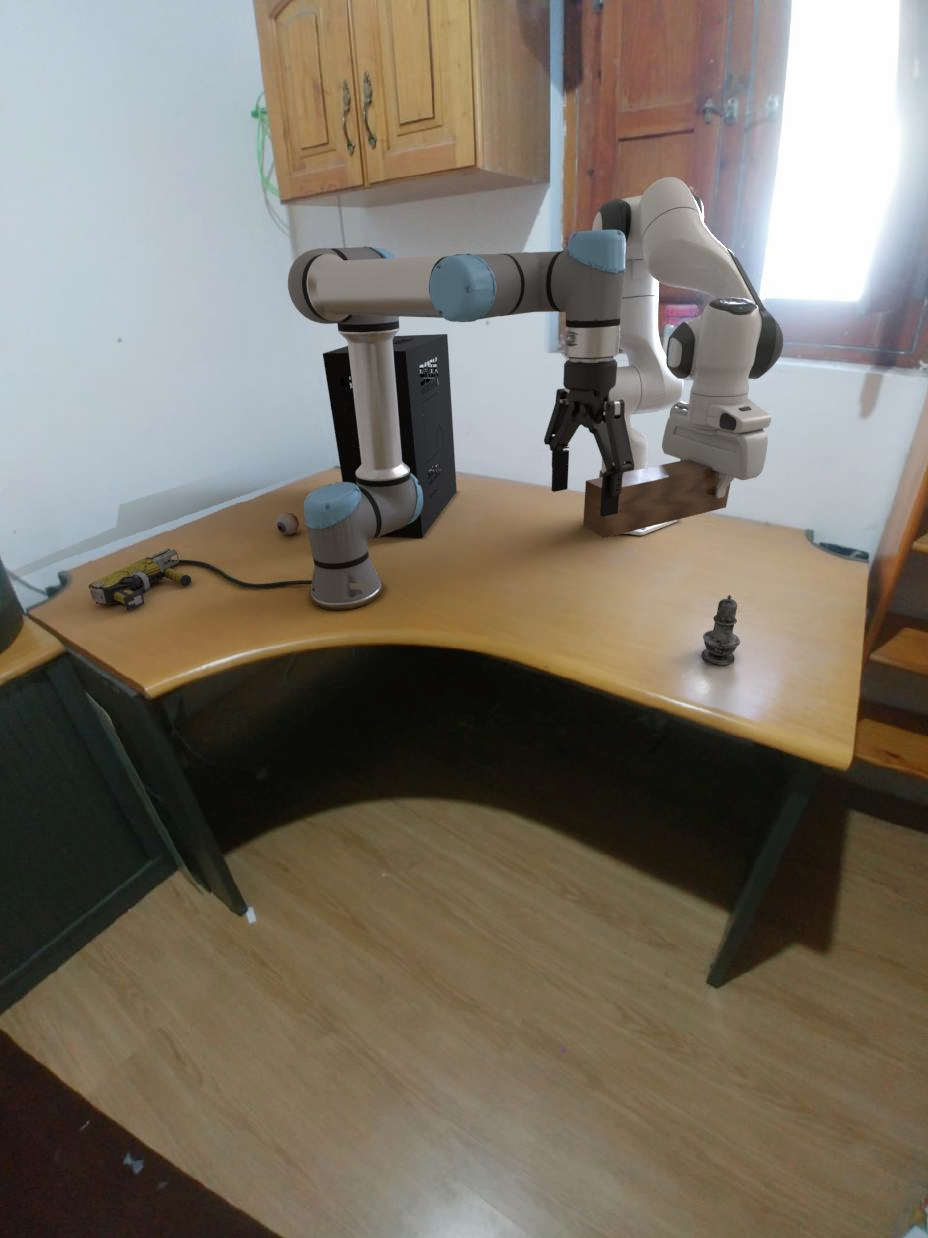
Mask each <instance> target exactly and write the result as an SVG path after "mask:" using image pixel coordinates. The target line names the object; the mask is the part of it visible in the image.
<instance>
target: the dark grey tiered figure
mask: <svg viewBox="0 0 928 1238" xmlns="http://www.w3.org/2000/svg"><path fill="white" fill-rule="evenodd" d="M737 610H738V603H737V602H736V600H735V599H732V595H731V594H729V595H728V596H727V598H723V599H720V601H719V602H718V605H717V610H716V615H714V616H713V622H714V624H713V628H712V629H711V630H707V631H705V633H703V635H702V639H703V642H704V646H705V649H703V650H702V652H701V656H702V658H703V659H704V660H705V661H706V662H708V663H710V664H714V665H718V666H727V665H731V664H732V663H734V661H735V659H736V657H735V654H733V653H734V652H735V651H736V650H737V648H738V647H739V646H740V644H741V639H740V638H739V636H737V635H736V634H734V628H735V625H736V624H737V623H738V620H737V618H736V615H737Z"/></svg>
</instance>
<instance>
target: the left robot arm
mask: <svg viewBox="0 0 928 1238" xmlns="http://www.w3.org/2000/svg"><path fill="white" fill-rule="evenodd" d="M625 251H626V238H625V235H624V233H623V232H621V231H620V230H593V231H592V230H581V231H575V232H573V233H571V234H570V236H569V237H568V243H567V247H566V249H565V250H560V251H533V252H532V251H531V252H529V251H523V252H510V253H509V252H507V253H478V254H475V253H474V254H473V253H457V254H453V255H435V256H413V257H397V256H396V255H395V254H394V253H393V252H391V250H388V249H386V248H382V247H373V246H367V245H365V246H359V247H357V246H356V247H355V246H354V247H331V248H330V247H329V248H328V247H320V248H318V247H317V248H313V249H310V250H307V251H305V252H302V253H301V254H300V255H299V256H298V257H296V259H295V260H294V261H293V263H292V264H291V265H290V269H289V272H288V277H287V290H288V294H289V297H290V300H291V302H292V303H293V306H294V307H295V309H296V310H297V311H298V312H299V313H300V314H301V315H302V316H303V317H305V318H306V319H307V320H309V321H312V322H314V323H318V324H323V325H333V324H337V332H338V333H339V334H340V335H341V336H342V337H343V338H344V339H345V340H346V343H347V346H348V350H349V358H350V367H351V376H352V384H353V386H352V387H353V393H354V402H355V410H356V419H357V428H358V436H359V445H360V454H361V462H362V464H361V466H360V467H359V468H358V469H357V470H356V482H357V485H356V484H354V483H350V482H342V481H338V482H335V483H328V484H325V485H322V486H320V487H317V488H316V489H314V490H312V491H311V492H310V493H308V495H306V497H305V499H304V502H303V513H304V514H303V515H304V517H303V518H304V524H305V525H306V529H307V534H308V539H309V540H308V541H309V546H310V550H311V555H312V560H313V573H312V579H304V580H303V579H302V580H285V581H277V582H276V581H275V582H268V583H251V582H245V581H242V580H240V579H237V578H234V577H232V576H229V575H228V574H227V573H226V572H224V571H223V570H221V569H220V568H217V567H216V566H214V565H212V564H209V563H207V562H204V561H200V560H192V559H179V563H178V564H184V565H185V564H188V565H197V566H202V567H205V568H207V569H209V570H212V572H215V573H217V574H219V575H220V576H221V577H223V578H224V579H226V580H228V581H229V582H231V583H234V584H236V585H239V586H241V587H245V588H251V589H266V588H275V587H282V586H284V587H285V586H296V585H297V586H299V585H311V586H310V597H311V600H312V602H313V604H314V605H316V606H317V607H319V608H321V609H325V610H331V611H346V610H352V609H356V608H360V607H363V606H367V605H368V604H371V603H372V602H374V601H375V600H377V599H378V598H379V597H380V595H381V594H382V591H383V586H382V580H381V578H380V577H379V574H378V573H377V571H376V569H375V566H374V565H373V563H372V561H371V559H370V554H369V547H368V542H369V541H371V540H374V539H377V538H379V537H382V535H384V534H387V533H389V532H392V531H394V530H397V529H401V528H403V527H405V526H406V525H408V524H410V523H412V522H413V521H415V520H416V519H417V518H418V516H419V515H420V513H421V510H422V506H423V493H422V489H421V486H420V485H418V480H417V479H416V477H415V476H414V475H413V474H411V473H410V468H409V467H408V466H407V465H406V464H404V463H403V462H402V454H401V441H400V429H399V416H398V403H397V391H396V378H395V366H394V353H393V341H392V340H393V338H394V336H397V334H398V332H399V331H400V317H403V318H404V317H407V318H412V317H413V318H435V319H440V318H441V319H444V320H446V321H448V322H453V323H454V322H455V323H457V322H458V323H472V322H476V321H477V320H485V319H491V318H497V317H505V316H513V315H514V316H515V315H522V314H523V315H524V314H530V313H551V312H556V313H565V336H564V345H565V346H564V357H566V358H568V359H567V360H566V361H565V362H564V363H563V381H562V382H563V383H562V384H563V387H564V388H557V389H556V392H555V402H554V406H553V409H552V413H551V417H550V418H549V422H548V426H547V428H546V431H545V436H544V438H543V442H544V445H548V446H549V451H550V452H551V492H552V493H556V492H561V491H565V490H568V489H569V488H568V484H569V466H570V465H569V462H570V450H568V449H569V448H570V446H569V444H570V442H571V441H572V439H573V437H574V435H575V434H576V432H577V430H578V429H579V427H580V426H582V427H583V428H586V429H588V432H589V433H590V434H592V435H593V437H594V440H595V443H596V445H597V448H598V450H599V454H600V456H601V460H602V459H603V461H604V464H605V467H606V471H605V472H604V473H603V479H602V493H601V507H600V516H602V517H605V516H609V515H613V514H618V503H619V495H620V493H621V487H622V477H623V473H624V472H628V471H633V470H634V461H633V456H632V451H631V446H630V441H629V436H628V431H627V427H626V422H625V402H624V400H616V401H610V398H609V391H610V390H611V389H612V388H613V387H614V386H615V385H616V376H617V367H618V361H617V359H615V357H617V356H618V355H619V353H620V348H619V341H620V325H621V324H620V318H621V317H620V315H621V304H622V294H623V283H624V273H625V271H626V266H625ZM352 384H351V385H352ZM602 421H603V423H602ZM613 462H614V465H613ZM624 462H626V463H624ZM173 560H174V561H177V560H178V559H173ZM174 561H172V562H174ZM168 562H171V561H170V559H169V560H168Z"/></svg>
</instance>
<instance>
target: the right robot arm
mask: <svg viewBox="0 0 928 1238" xmlns="http://www.w3.org/2000/svg"><path fill="white" fill-rule="evenodd" d="M704 220H705V209H704V203H703V201H702V199H701V198H700V196H699V195H698V194H696V193H692V192H691V190H690V189H689V187H688V186H687V184H686V183H685V182H684V181H683V180H681V179H680V178H678V177H673V176H666V177H662V178H660V179H658V180H656V181H654V182H653V183H651V184H650V185H649V186H648V187H647V188H646V189H645V191H644V192H643V194H641V195H635V196H631V197H625V198H619V197H617V198H613V199H611V200H608V201H605V202H604V203H602V204H601V205H600V206H599V208H598V209H597V210H596V212H595V216H594V219H593V223H592V228H591V231H593V230H620V231H621V232H623V233H624V235H625V238H626V251H625V266H626V271H625V273H624V283H623V294H622V304H621V315H620V317H621V318H620V324H621V325H620V341H619V350H622V351H623V352H624V354H625V355H626V357H627V359H628V360H627V361H628V365H624V366H617V376H616V385H615V386H614V387H613V388H612V389H611V390H610V391H609V398H610V401H616V400H624V402H625V422H626V427H627V431H628V436H629V441H630V446H631V451H632V456H633V461H634V470H639V469H644V468H648V467H647V466H648V458H649V457H648V456H649V447H650V443H649V440H648V438H647V437H646V435H645V434H644V433H643V432H641V431H639V430H637V429H636V428H633V427H632V424H631V416H634V415H643V414H651V413H658V412H661V411H665V410H668V409H670V410H669V417H668V418H667V420H666V424H665V428H664V433H663V436H662V442H661V448H662V452H663V453H664V455H667V456H671V457H674V458H676V459H679V461H682V460H687V459H689V460H691V461H694V462H697V463H700V464H703V465H706V466H709V467H712V470H714V471H717V472H720V473H719V479H721V481H720V482H719V484H718V485H717V486H713V488H712V496H715V497H717V498H721V497H724V496H725V494H726V488H727V487H728V485H729V484H730V483H732V482H733V481H734V479H737V480H740V481H747V480H748V481H749V480H751V479H755V478H757V477H759V475H760V474H762V473H763V470H764V467H765V463H766V458H767V451H768V445H769V444H768V442H769V441H768V440H769V439H768V434H767V432H766V431H765V429H767V428H769V427H770V425H771V422H772V415H771V414H770V413H768V412H767V411H766V410H764V409H763V408H761V407H760V406H759V405H757V404H756V403H755V402H754V401H753V400H752V399H750V398H748V397H749V392H750V385H749V380H758V379H761V377H763V376H764V375H765V374H766V373H768V371H770V370H771V369H772V368H773V367H774V365H776V363H777V362H778V360H779V358H780V357H781V355H782V352H783V348H784V335H783V331H782V328H781V326H780V323H779V322H778V321H777V320H776V318H775V317H774V316H773V315H772V313H770V312H769V311H768V309H766V307H765V306H764V303H763V302H762V300H761V298H760V297H759V295H758V293H757V291H756V289H755V287H754V285H753V284H752V282H751V280H750V278H749V277H748V274H747V273H746V270H745V269H744V268H743V265H742V263H741V262H740V260H739V258H738V257H737V256H736V254H735V253H734V252H733V251H732V250H731V249H729V248H728V247H727V246H725V245H723V244H722V243H721V242H720V241H719V240H718V239H717V238H716V237H715V236H714V234H712V233H711V231H710V230H709V228H708V227H707V225H706V224H705V223H704ZM660 284H661V285H664V286H667V287H671V288H676V289H685V290H691V291H695V292H699V293H702V294H705V295H707V296H709V297H711V298H713V299H714V300H711V301H709V302H708V303H707V304H706V305H705V307H704V309H703V312H702V313H701V314H699V315H698V316H696V317H695V318H692V319H690V320H687V321H683V322H681V323H680V324H679V325H678V326H677V327H676V328H675V329H674V330H673V331H672V333H671V334H670V335H669V337H668V341H667V345H666V346H667V347H666V353H665V351H664V348H663V347H662V344H661V340H660V334H659V294H660V293H659V291H660V290H659V289H660V287H659V285H660ZM685 381H692V386H691V388H690V393H689V399H688V402H687V403H686V402H684V401H680V400H681V398H682V396H683V393H684V388H685V387H684V386H685ZM602 423H603V421H602ZM624 463H626V462H624ZM613 465H614V462H613ZM634 470H633V471H634ZM605 471H606V467H605V464H604V461H603V459H602V458H601V468H600V470H599V474H598V478H601V477H603V473H604V472H605ZM628 472H630V471H628ZM624 473H625V472H624ZM730 485H731V484H730ZM677 522H678V520H674V521H670V522H666V523H662V524H658V525H654V526H650V527H646V528H642V529H638V530H634V531H630V532H626V533H622V534H623V535H625V534H626V535H632V536H633V535H634V536H645V535H646V534H650V533H652V532H654V531H657V530H660V529H662V528H665V527H668V526H670V525H672V524H675V523H677ZM622 534H621V535H622Z"/></svg>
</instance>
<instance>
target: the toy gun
mask: <svg viewBox="0 0 928 1238" xmlns="http://www.w3.org/2000/svg"><path fill="white" fill-rule="evenodd" d="M173 557H176V558H177V559H176V560H177V561H174V560H175V559H172V558H173ZM169 559H170V561H171V562H168V560H169ZM179 560H180V559H179V553H178V551H177V550H176V549H171V548H169V547H168V548H166V549H164V550H162V551H159V552H158V553H155V554H153V555H151V556H146V557H145V558H142V559H140V560H138V561H135V562H134V563H132V564H130V565H127V566H125V567H123V568H121V569H119V570H117V571H115V572H112V573H110V574H108V575H106V576H104V577H102V578H100V579H97V580H95V581H93V582H91V583H89V584H88V588H89V592H90V595H91V599H92V601H93V602H95V604H96V605H100V606H103V605H113V604H117V603H121V604H123V605H124V606H125V611H128V612H129V611H131V610H134V609H136V608H138V607H141V606H143V605H145V604H146V603H145V598H144V594H143V592H145V591H147V590H149V589H150V588H151V585H152V584H154V583H157V582H160V581H162V580H163V579H164V578H166V579H169V580H171V581H173V582H177V584H181V585H182V586H184V587H186V586H189V585H191V584H192V577H191V576H190V575H189V574H185V573H182V572H180V571H178V570H175V569H173V568H172V567H173V566H175V565H179V564H180V563H179ZM172 561H174V562H172Z"/></svg>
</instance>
